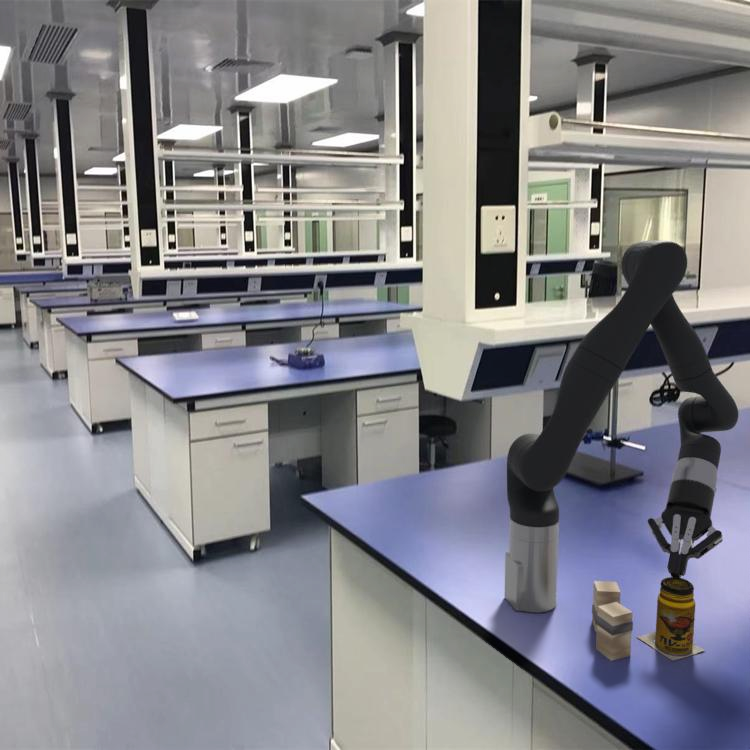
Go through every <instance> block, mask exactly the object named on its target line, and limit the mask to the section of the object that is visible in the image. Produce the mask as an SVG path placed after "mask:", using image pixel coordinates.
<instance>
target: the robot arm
mask: <svg viewBox="0 0 750 750" xmlns="http://www.w3.org/2000/svg"><path fill="white" fill-rule="evenodd" d="M620 263H621V264H620V268H621V274H622V275H623V278H624V280H625V281H626V283H627V285H628V286H627V288H626V290H625V291H624V293H623V295H622V297H620V300H619V301H618V302H617V304H616V305H615V306H614V307H613V308H612V309H611V310H610V311H609V312H608V313H607V314H606V315H605V316H604V317H602V319H601V320H599V321H598V323H597V324H595V325H594V326H593V328H591V329H590V330H589V331H588V332H587V334H585V336H584V337H583V338H582V339H581V341H580V343H579V344H578V346H577V347H576V349H575V351H574V352H573V354H572V356H571V358H570V359H569V360H568V362H567V364H566V366H565V368H564V372H563V373H562V376H561V377H562V378H561V380H560V384H559V389H558V393H557V399H556V402H555V405H554V408H553V411H552V414H551V416H550V418H549V419H548V421H547V423H546V424H545V426H544V428H543V429H542V431H541V432H540V434H537V433H525V434H522V435H521V436H518V437H517V438H516V439H514V441H513V442H512V443H511V445H510V447H509V450H508V451H507V457H506V493H507V494H506V496H507V502H508V505H509V546H508V547H509V550H508V551H506V552H505V555H504V557H505V559H504V560H505V561H504V598H505V600H506V601H507V602H508V603H509V604H510V605H511V607H512V608H513V609H514V610H515V612H526V613H545V612H546V613H547V612H549V611H552V610H553V609H555V607H556V606H557V596H558V591H557V590H558V588H557V587H558V560H559V557H558V556H559V535H560V531H559V528H560V507H559V504H558V502H557V499H556V496H555V491H554V488H555V487H556V486H558V485H559V484H560V483H561V482H562V480H563V479H564V477H565V476H566V474H567V473H568V471H569V468H570V466H571V464H572V462H573V459H574V458H575V455H576V452H577V451H578V449H579V446H580V445H581V442H582V440H583V438H584V436H585V434H586V432H587V431H588V429H589V427H590V426H591V424H592V423H593V421H594V419H595V417H596V416H597V414H598V412H599V411H600V409H601V407H602V406H603V404H604V401H605V400H606V399H607V397H608V396H609V394H610V392H611V391H612V390H613V388H614V387H615V384H616V383H617V382H618V380H619V379H620V377H621V375H622V373H623V371H624V370H625V368H626V366H627V365H628V362H629V361H630V359H631V357H632V355H633V354H634V353H635V350H636V349H637V347H638V346H639V344H640V342H641V341H642V339H643V337H644V336H645V334H646V332H647V330H648V329H649V327H650V326H651V328H652V330H653V331H654V334H655V336H656V339H657V340H658V342H659V345H660V347H661V350H662V352H663V355H664V358H665V360H666V362H667V365H668V368H669V371H670V374H671V375H672V378H673V381H674V383H675V386H676V387H677V389H678V390H680V391H681V392H685V393H686V392H687V393H692V394H696V395H699V396H691V397H688V398H686V399H684V400H683V401H682V402H681V403H680V405H679V407H678V411H677V417H678V425H679V433H680V434H679V435H680V437H679V438H680V447H679V453H678V458H677V462H676V464H675V468H674V470H673V474H672V478H671V483H670V487H669V492H668V497H667V501H666V506H665V509H664V510H663V511H662V512H661V514H660V517H659V516H658V517H657V518H655V519H654V518H648V520H647V523H648V527H649V529H650V531H651V533H652V535H653V537H654V538H655V540H656V542H657V543H658V545H659V548H660V549H661V550H662V552H664V553H667V554H669V555H668V556H669V557H668V562H667V572H668V574H670V577H675V578H682V577H684V576H685V575H686V573H687V568H688V563H689V560H690V559H697V560H698V559H700V558H702V557H703V556H705V555H706V554H707V553H708V552H710V551H711V550H713V549H715V548H716V547H717V546H718V545H720V544H721V543H722V542H723V532H722V531H721V530H718V529H716V528H715V527H714V526H713V521H712V519H711V518H712V517H711V516H712V512H713V511H712V510H713V505H714V500H715V495H716V492H717V485H718V484H717V483H718V469H719V464H720V458H721V452H722V446H721V443H720V442H719V440H717V439H716V438H714V437H713V436H711V435H708V434H704V433H712V432H724V431H729V430H732V429H733V428H734V427H735V426H736V425H737V423H738V421H739V420H738V419H739V409H738V406H737V403H736V402H735V400H734V398H733V396H732V395H731V394H730V393H729V391H728V389H726V387H725V386H724V385H723V383H722V382H721V381H720V379H719V378H718V377H717V375H716V373H715V372H714V370H713V368H712V365H711V363H710V359H709V357H708V354H707V351H706V350H705V347H704V344H703V342H702V340H701V338H700V337H699V335H698V333H697V331H695V329H694V328H693V326H692V325H691V323H690V322H689V321H688V319H687V318H686V317H685V315H684V313H683V312H682V310H681V309H680V307H679V305H678V304H677V302H676V300H675V298H674V294H673V293H675V291H676V290H677V289H678V287H679V286H680V284H681V283H682V281H683V279H684V277H685V276H686V272H687V270H688V269H687V268H688V257H687V254H686V251H685V249H684V248H683V246H681V245H680V244H678V243H676V242H674V241H671V240H670V241H669V240H661V239H660V240H642V241H638V242H635V243H632V244H630V246H628V248H627V249H626V250H625V252H624V253H623V255H622V257H621V261H620ZM663 525H664V527H665V528H666V530H667V532H668V534H669V535H670V536H671V539H670V540H671V541H670V543H669V542H668V540H667V539H666V537H665V535H664V533H663V532H662V531H663V528H664V527H663ZM704 535H706V537H705V538H704V539H703V540H701V541H699V539H701V538H702V537H704ZM682 541H683V542H682ZM696 541H699V543H697V544H696V545H695V546H694V544H695V542H696Z"/></svg>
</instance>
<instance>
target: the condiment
mask: <svg viewBox="0 0 750 750" xmlns="http://www.w3.org/2000/svg"><path fill="white" fill-rule="evenodd" d="M694 590H695V587H694V585H693V583H691V582H690V581H689V580H687V579H685V578H682V577H681V578H675V577H671V576H670V577H665V578H662V579H661V581H660V588H659V593H658V595H657V600H656V601H657V605H656V621H655V631H653V632H650V633H646V634H643V635H639V636H637V637H636V638H638V639H639V640H641V641H642V642H644V643H646V644H647V645H649V646H650V647H651V648H653V649H654V650H655V651H657V652H658V653H659V654H662V656H664V657H666V658H667V659H669V660H671V661H673V662H674V661H678V660H680V659H685V658H688V657H690V656H695V655H696V654H699V653H701V652H704V651H705V649H704V648H702V647H700V646H698V645H696V644H695V643H694V636H695V635H694V634H695V633H694V632H695V630H694V629H695V618H696V617H695V616H696V601H695V599H694V594H695V593H694ZM654 640H655V642H654Z"/></svg>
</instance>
